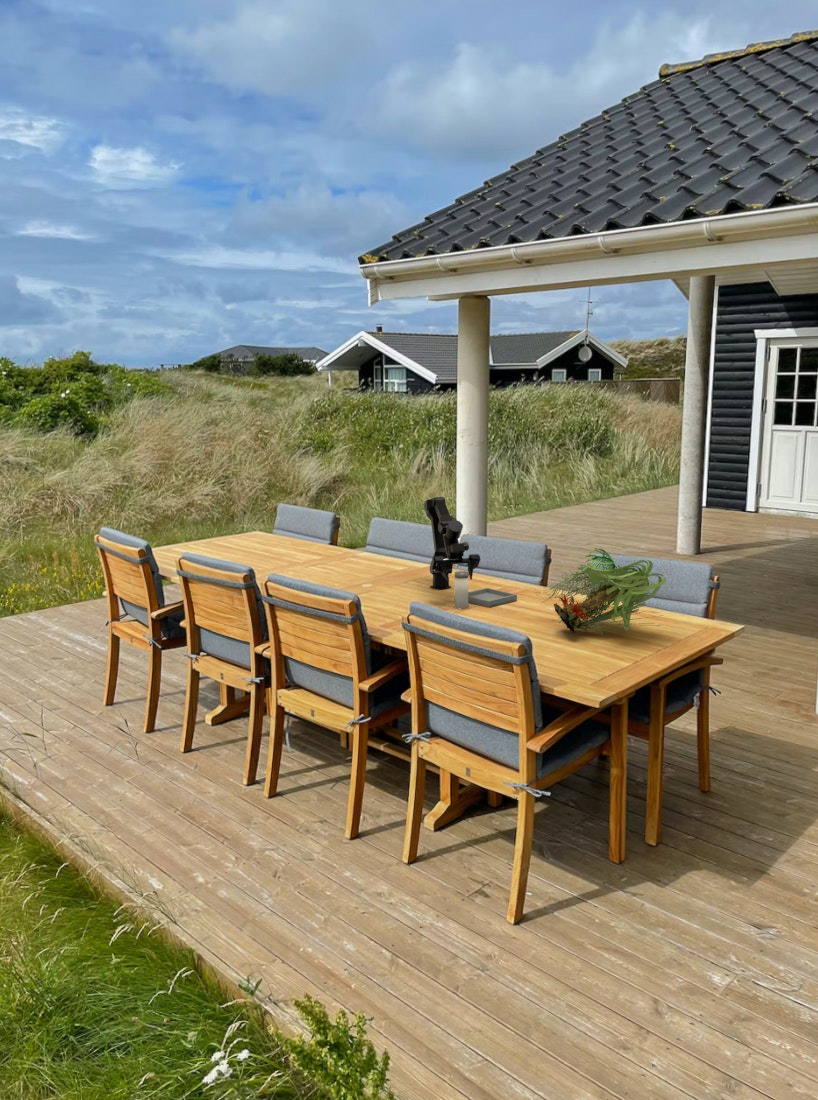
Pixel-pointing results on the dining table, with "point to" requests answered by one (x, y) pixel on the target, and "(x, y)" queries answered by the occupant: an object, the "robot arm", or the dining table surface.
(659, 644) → the dining table surface
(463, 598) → the shaker
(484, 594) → the tray
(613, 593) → the plant
